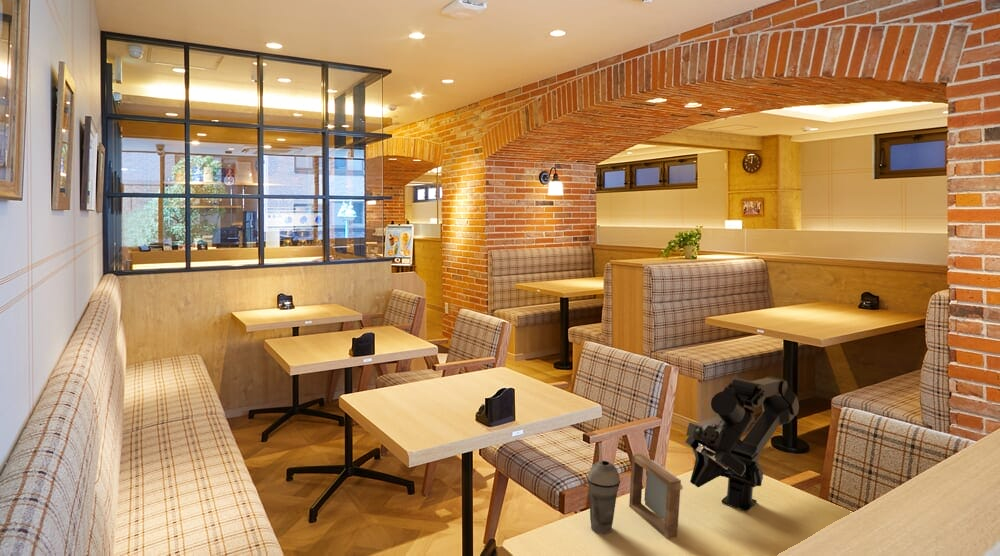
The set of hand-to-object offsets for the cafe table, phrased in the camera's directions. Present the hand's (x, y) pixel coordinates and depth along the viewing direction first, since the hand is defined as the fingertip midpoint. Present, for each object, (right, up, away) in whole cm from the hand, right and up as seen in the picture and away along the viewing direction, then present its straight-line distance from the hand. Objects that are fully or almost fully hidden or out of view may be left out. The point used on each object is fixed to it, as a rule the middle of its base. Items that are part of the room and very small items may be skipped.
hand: (694, 484), depth 141 cm
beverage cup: (-22, -8, -5) cm, 24 cm away
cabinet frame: (-10, -8, -1) cm, 13 cm away
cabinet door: (-8, -7, 0) cm, 10 cm away
